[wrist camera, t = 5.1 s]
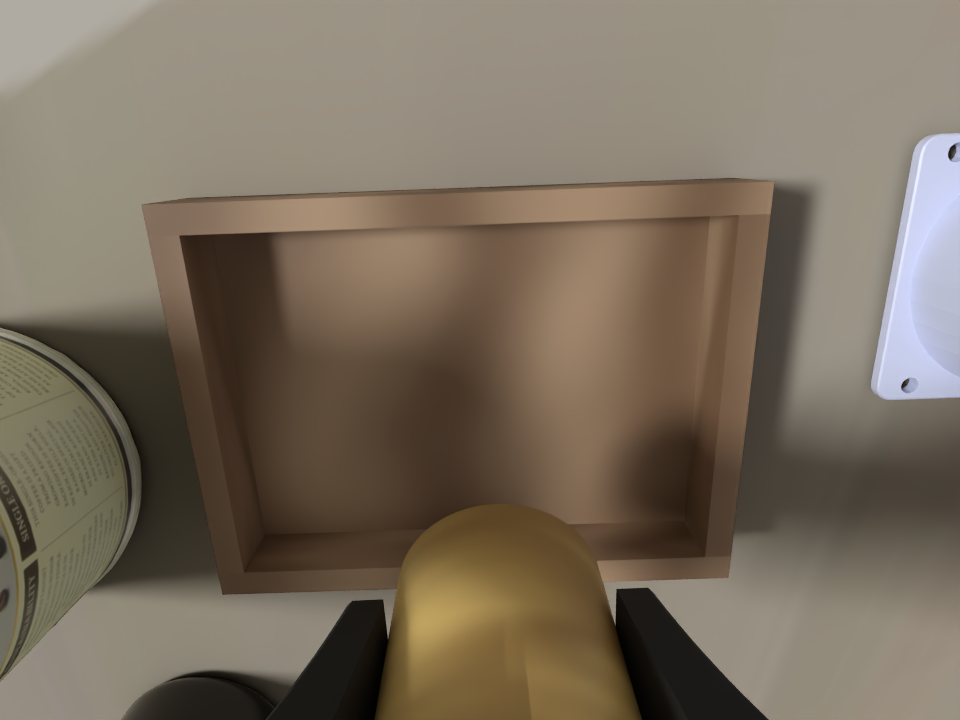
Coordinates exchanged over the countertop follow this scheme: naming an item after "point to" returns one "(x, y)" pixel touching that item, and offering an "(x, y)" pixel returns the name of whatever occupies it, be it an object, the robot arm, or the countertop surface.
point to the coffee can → (57, 489)
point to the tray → (464, 369)
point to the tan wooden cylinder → (503, 625)
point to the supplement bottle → (200, 701)
